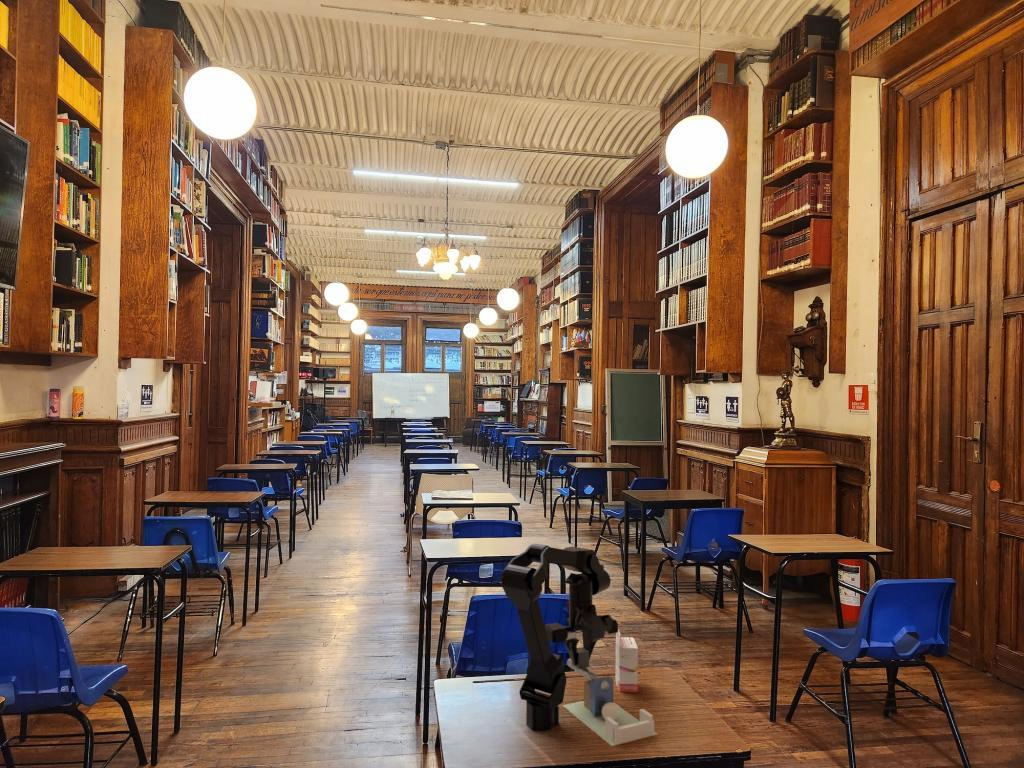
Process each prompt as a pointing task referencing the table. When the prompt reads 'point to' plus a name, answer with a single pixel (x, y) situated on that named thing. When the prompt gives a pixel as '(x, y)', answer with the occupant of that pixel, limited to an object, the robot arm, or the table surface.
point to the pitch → (598, 721)
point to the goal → (630, 729)
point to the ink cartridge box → (626, 664)
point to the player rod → (593, 682)
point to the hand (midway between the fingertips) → (580, 663)
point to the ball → (610, 711)
